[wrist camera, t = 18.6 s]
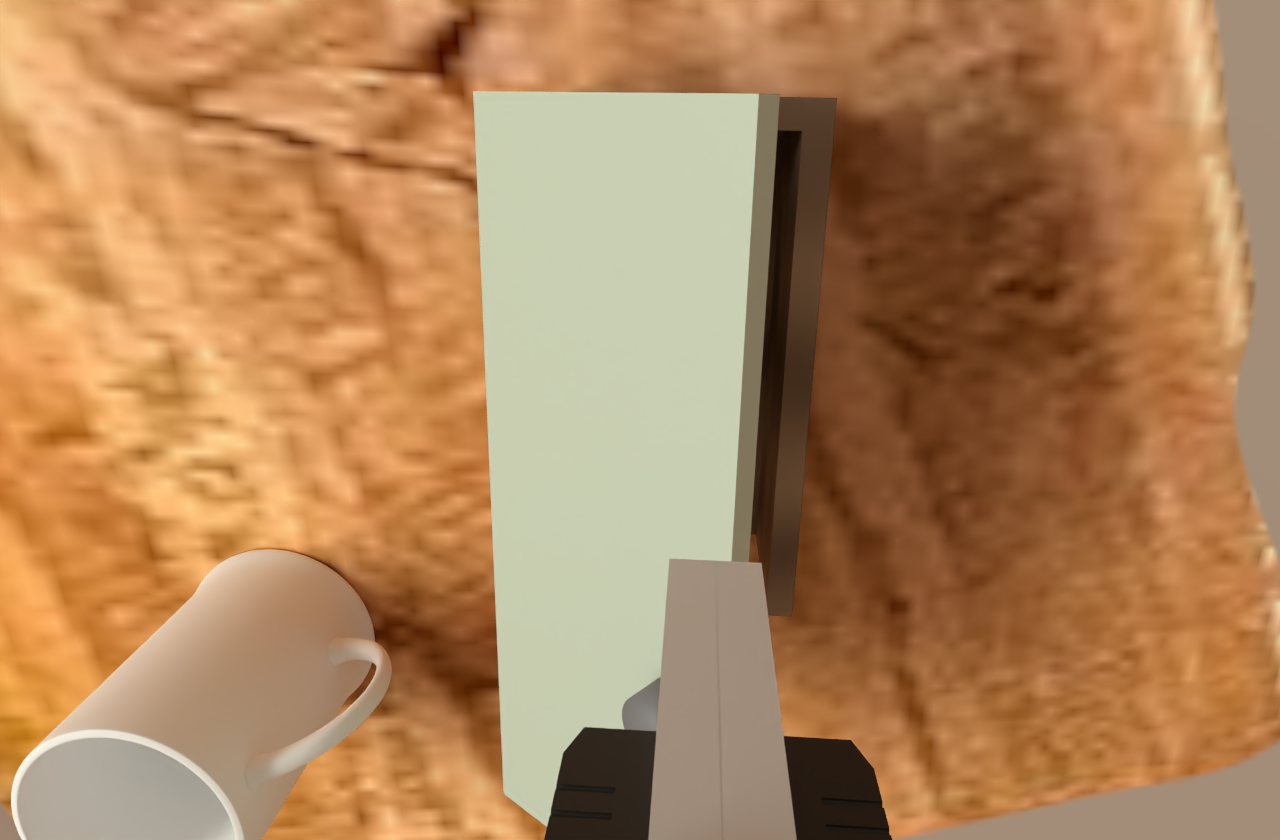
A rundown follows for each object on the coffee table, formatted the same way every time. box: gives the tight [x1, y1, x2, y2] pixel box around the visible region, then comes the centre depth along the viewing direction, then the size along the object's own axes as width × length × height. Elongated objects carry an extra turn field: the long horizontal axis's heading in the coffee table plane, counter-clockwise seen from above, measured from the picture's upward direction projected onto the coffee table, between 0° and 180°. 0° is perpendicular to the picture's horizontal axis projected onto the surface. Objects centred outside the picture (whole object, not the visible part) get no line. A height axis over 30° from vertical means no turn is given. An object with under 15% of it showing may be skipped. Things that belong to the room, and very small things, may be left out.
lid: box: [473, 91, 780, 827], centre depth 26 cm, size 24×10×2 cm
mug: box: [11, 549, 392, 840], centre depth 35 cm, size 12×8×12 cm
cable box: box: [751, 97, 837, 617], centre depth 32 cm, size 17×9×7 cm, turn 179°
